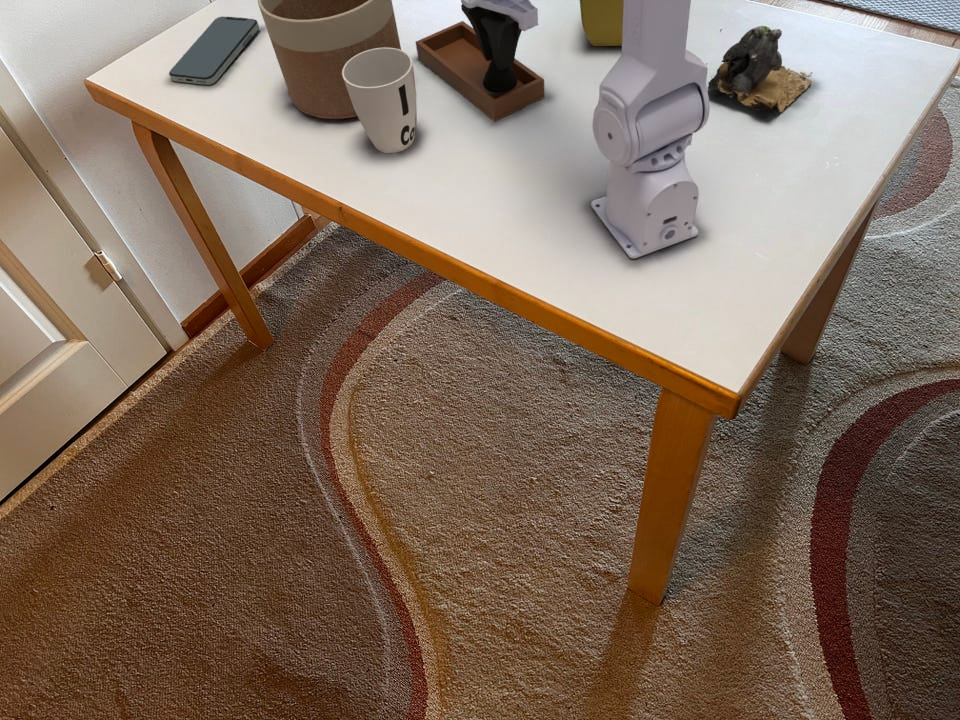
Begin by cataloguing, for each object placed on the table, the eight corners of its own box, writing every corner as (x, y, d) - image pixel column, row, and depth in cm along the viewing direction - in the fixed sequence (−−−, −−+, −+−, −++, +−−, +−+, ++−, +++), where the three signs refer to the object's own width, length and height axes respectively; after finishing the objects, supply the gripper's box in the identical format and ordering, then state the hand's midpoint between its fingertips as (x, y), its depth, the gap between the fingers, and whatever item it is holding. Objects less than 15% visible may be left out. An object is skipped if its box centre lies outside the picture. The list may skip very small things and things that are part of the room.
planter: (418, 55, 101) (400, -47, 90) (390, 125, 92) (367, 21, 80) (312, 54, 103) (282, -45, 92) (275, 122, 94) (237, 20, 83)
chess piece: (524, 79, 92) (520, 2, 84) (502, 97, 90) (496, 19, 82) (497, 69, 93) (491, -8, 85) (476, 86, 92) (467, 9, 84)
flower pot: (581, 20, 102) (582, -46, 95) (643, 19, 101) (649, -48, 93) (577, 55, 97) (578, -12, 90) (643, 54, 96) (649, -14, 88)
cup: (416, 162, 87) (401, 89, 79) (353, 159, 88) (332, 86, 80) (432, 121, 91) (419, 48, 83) (372, 119, 93) (354, 46, 85)
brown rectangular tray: (544, 97, 92) (544, 79, 90) (494, 122, 90) (493, 104, 88) (464, 38, 102) (462, 20, 100) (418, 59, 100) (415, 41, 98)
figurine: (813, 84, 88) (841, 18, 79) (765, 135, 86) (788, 73, 77) (744, 48, 92) (763, -20, 83) (696, 96, 90) (711, 32, 81)
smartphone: (164, 73, 102) (216, 14, 109) (170, 84, 103) (221, 25, 111) (210, 78, 100) (259, 18, 107) (215, 89, 101) (263, 28, 109)
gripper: (425, -62, 81) (441, 50, 92) (497, -16, 73) (506, 100, 84) (476, -83, 83) (486, 29, 94) (552, -40, 75) (553, 77, 86)
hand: (499, 61), depth 89 cm, fingers closed on chess piece, 2 cm apart
